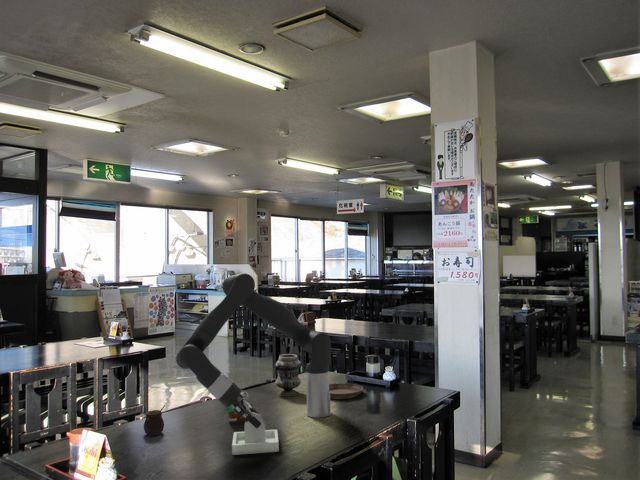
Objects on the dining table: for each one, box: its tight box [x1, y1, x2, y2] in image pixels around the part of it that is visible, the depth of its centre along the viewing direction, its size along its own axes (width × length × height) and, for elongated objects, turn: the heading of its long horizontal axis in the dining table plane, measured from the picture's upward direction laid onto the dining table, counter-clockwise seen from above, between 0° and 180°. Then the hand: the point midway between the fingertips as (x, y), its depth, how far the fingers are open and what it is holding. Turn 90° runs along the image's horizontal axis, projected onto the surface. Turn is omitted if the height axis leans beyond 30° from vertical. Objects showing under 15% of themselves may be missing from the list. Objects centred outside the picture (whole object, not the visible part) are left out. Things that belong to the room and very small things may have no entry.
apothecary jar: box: [275, 353, 302, 398], centre depth 239 cm, size 12×12×18 cm
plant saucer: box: [329, 382, 364, 400], centre depth 235 cm, size 21×21×3 cm
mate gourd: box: [143, 405, 166, 437], centre depth 186 cm, size 7×8×10 cm
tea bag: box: [244, 411, 266, 443], centre depth 171 cm, size 4×7×10 cm, turn 44°
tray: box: [231, 428, 280, 456], centre depth 171 cm, size 15×13×3 cm
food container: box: [227, 390, 250, 424], centre depth 201 cm, size 12×6×10 cm, turn 168°
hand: (259, 422), depth 171 cm, fingers open, 8 cm apart
